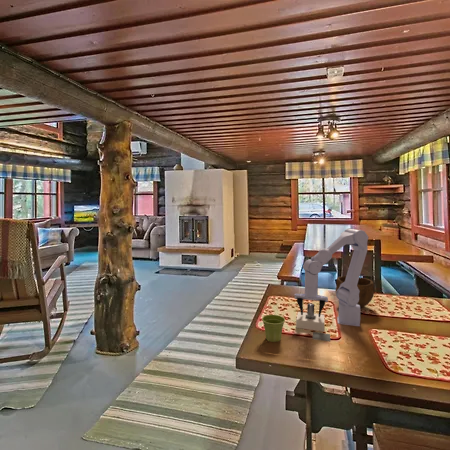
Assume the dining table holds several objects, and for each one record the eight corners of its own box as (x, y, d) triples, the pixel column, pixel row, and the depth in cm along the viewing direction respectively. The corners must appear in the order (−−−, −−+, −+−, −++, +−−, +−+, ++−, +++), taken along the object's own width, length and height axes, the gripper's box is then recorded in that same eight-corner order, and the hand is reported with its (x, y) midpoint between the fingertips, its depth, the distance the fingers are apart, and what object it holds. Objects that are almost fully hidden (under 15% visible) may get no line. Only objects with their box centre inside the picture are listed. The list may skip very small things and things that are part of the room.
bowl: (375, 304, 166) (376, 277, 165) (370, 315, 150) (371, 286, 149) (339, 298, 176) (340, 273, 175) (331, 308, 161) (332, 281, 159)
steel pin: (313, 324, 140) (314, 303, 139) (313, 327, 137) (314, 306, 137) (307, 324, 141) (307, 303, 140) (306, 326, 138) (307, 305, 137)
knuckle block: (324, 323, 142) (324, 314, 142) (324, 331, 133) (324, 323, 132) (297, 319, 146) (298, 311, 146) (296, 328, 136) (296, 319, 136)
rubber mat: (330, 334, 130) (330, 334, 130) (330, 342, 123) (330, 341, 123) (313, 332, 132) (313, 331, 132) (312, 339, 126) (312, 338, 126)
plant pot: (279, 346, 120) (280, 325, 119) (258, 340, 125) (258, 320, 124) (288, 337, 128) (288, 317, 127) (267, 332, 133) (267, 313, 132)
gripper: (294, 287, 136) (293, 316, 137) (328, 290, 132) (327, 320, 133) (295, 283, 143) (295, 311, 144) (328, 285, 138) (327, 314, 139)
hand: (310, 315), depth 139 cm, fingers open, 7 cm apart
